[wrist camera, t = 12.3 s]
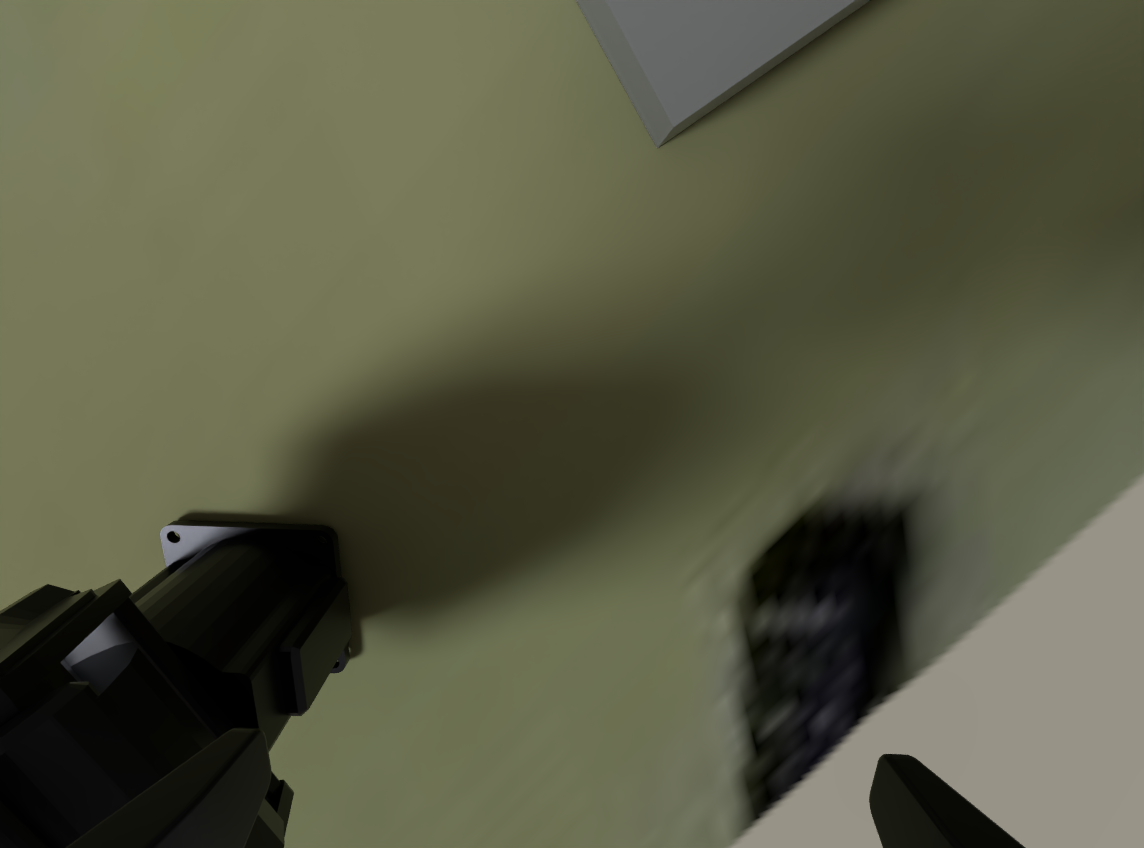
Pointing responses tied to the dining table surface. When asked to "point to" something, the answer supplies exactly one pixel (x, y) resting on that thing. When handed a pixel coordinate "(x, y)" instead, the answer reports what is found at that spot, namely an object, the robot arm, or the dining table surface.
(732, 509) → the dining table surface
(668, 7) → the holder block
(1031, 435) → the dining table surface
